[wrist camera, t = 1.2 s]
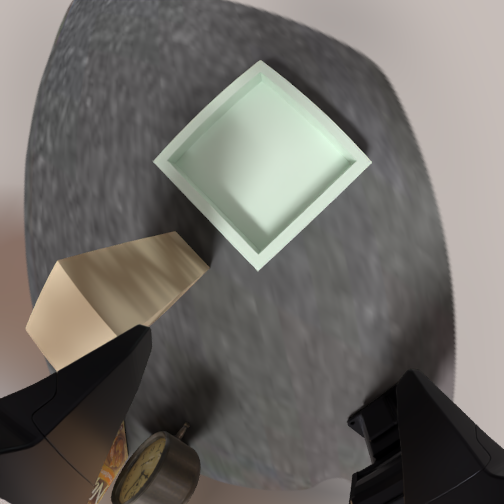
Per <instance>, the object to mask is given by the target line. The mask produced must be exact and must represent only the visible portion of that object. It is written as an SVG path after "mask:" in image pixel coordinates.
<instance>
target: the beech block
mask: <svg viewBox="0 0 504 504" xmlns="http://www.w3.org/2000/svg"><path fill="white" fill-rule="evenodd" d="M209 268H210V267H209V266H208V265H207V264H206V263H205V262H204V261H203V260H202V259H201V258H200V257H199V256H198V255H197V254H196V253H195V252H194V250H193V249H192V248H191V247H190V246H189V245H188V244H187V243H186V242H185V241H184V240H183V239H182V238H181V237H180V236H179V234H178V233H177V232H176V231H174V232H169V233H165V234H160V235H156V236H152V237H148V238H143V239H139V240H135V241H131V242H127V243H123V244H119V245H115V246H111V247H107V248H103V249H99V250H95V251H91V252H87V253H83V254H80V255H76V256H72V257H68V258H65V259H61V260H58V261H57V262H56V264H55V266H54V268H53V270H52V272H51V274H50V275H49V277H48V279H47V281H46V283H45V285H44V287H43V290H42V292H41V294H40V296H39V298H38V300H37V302H36V305H35V307H34V309H33V311H32V314H31V316H30V319H29V321H28V323H27V326H26V328H25V329H26V331H27V332H28V334H29V335H30V336H31V338H32V339H33V341H34V342H35V343H36V345H37V346H38V348H39V349H40V350H41V352H42V353H43V354H44V356H45V357H46V358H47V359H48V361H49V362H50V363H51V364H52V366H53V367H54V368H55V369H56V371H57V372H58V370H60V369H62V368H64V367H65V366H67V365H69V364H71V363H72V362H74V361H76V360H77V359H79V358H81V357H83V356H84V355H86V354H88V353H90V352H91V351H93V350H95V349H96V348H98V347H100V346H102V345H103V344H105V343H107V342H108V341H110V340H112V339H114V338H115V337H117V336H119V335H120V334H122V333H124V332H126V331H127V330H129V329H131V328H132V327H134V326H136V325H138V324H141V325H145V326H148V327H149V326H150V325H151V324H153V323H154V322H155V321H156V320H157V319H158V318H159V317H160V316H161V315H163V314H164V313H165V312H166V311H167V310H168V309H169V308H170V307H171V306H172V305H173V304H174V303H175V302H176V301H177V300H178V299H179V298H180V297H181V296H182V295H183V294H184V293H185V292H186V291H187V290H188V289H189V288H190V287H191V286H192V285H193V284H194V283H195V282H196V281H197V280H198V279H199V278H200V277H201V276H202V275H203V274H204V273H205V272H206V271H207V270H208V269H209Z"/></svg>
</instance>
